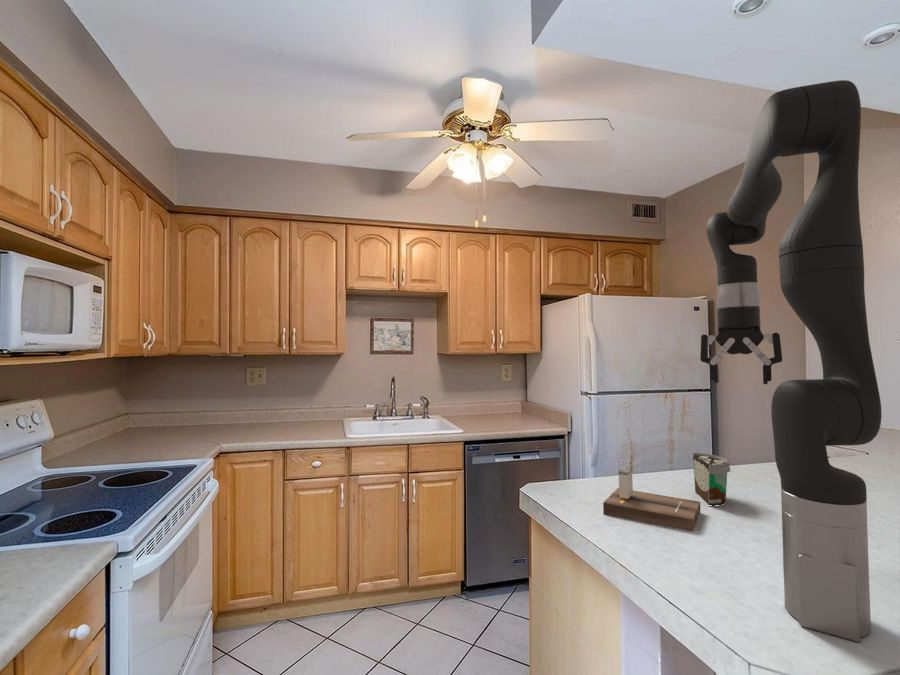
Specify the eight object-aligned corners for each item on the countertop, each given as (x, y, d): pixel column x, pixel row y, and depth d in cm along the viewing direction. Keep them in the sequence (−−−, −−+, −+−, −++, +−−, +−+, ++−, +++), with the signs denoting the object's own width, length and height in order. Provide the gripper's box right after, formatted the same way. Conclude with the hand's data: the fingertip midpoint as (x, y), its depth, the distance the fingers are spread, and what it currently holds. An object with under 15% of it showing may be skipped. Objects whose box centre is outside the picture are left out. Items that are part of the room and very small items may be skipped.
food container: (740, 510, 101) (739, 466, 101) (711, 508, 102) (709, 465, 103) (719, 492, 113) (718, 452, 113) (693, 491, 114) (692, 452, 115)
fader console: (693, 532, 90) (692, 519, 90) (603, 513, 101) (603, 502, 101) (700, 512, 100) (700, 501, 100) (618, 498, 111) (617, 487, 111)
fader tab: (628, 499, 101) (627, 472, 101) (619, 497, 103) (618, 471, 103) (633, 493, 105) (632, 468, 105) (623, 492, 106) (623, 467, 106)
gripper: (697, 307, 94) (699, 383, 94) (780, 302, 86) (783, 386, 86) (701, 309, 100) (703, 381, 100) (779, 304, 92) (782, 382, 92)
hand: (740, 383), depth 93 cm, fingers open, 8 cm apart
